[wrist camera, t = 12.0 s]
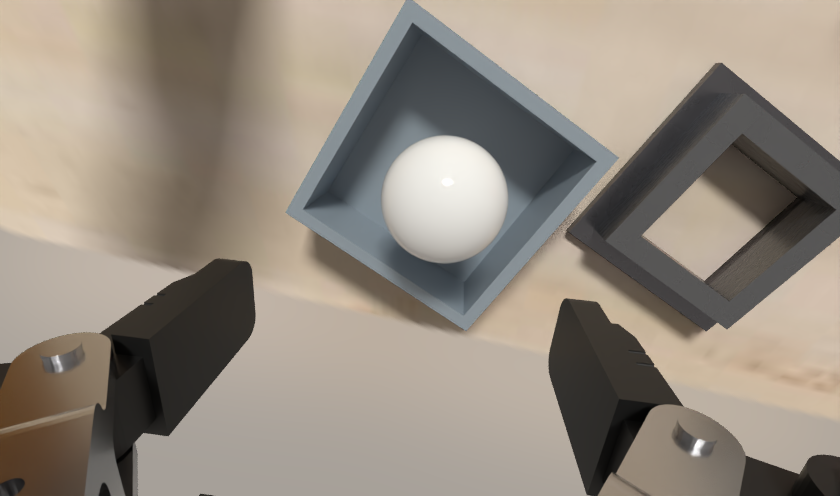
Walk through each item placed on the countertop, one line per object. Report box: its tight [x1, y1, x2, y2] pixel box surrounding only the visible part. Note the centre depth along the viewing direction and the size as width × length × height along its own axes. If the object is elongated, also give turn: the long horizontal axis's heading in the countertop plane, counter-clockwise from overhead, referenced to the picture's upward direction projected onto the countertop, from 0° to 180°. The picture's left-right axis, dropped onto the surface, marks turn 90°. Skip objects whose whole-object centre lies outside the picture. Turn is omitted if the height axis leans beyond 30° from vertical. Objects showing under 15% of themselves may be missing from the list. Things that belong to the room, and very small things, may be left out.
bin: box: [285, 0, 619, 331], centre depth 26 cm, size 14×14×6 cm
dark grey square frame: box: [567, 63, 840, 331], centre depth 26 cm, size 13×13×3 cm
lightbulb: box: [381, 135, 509, 264], centre depth 23 cm, size 6×6×11 cm
